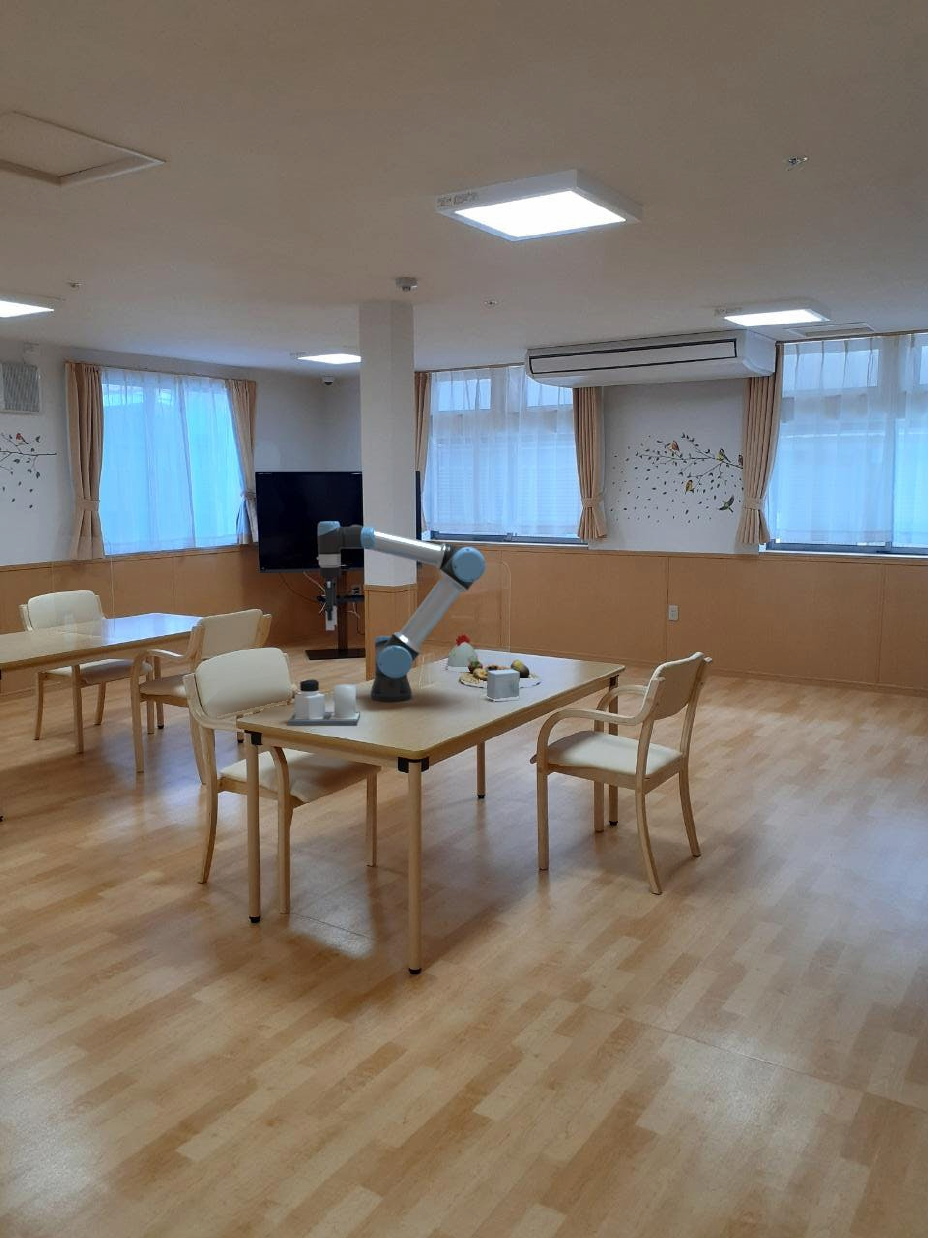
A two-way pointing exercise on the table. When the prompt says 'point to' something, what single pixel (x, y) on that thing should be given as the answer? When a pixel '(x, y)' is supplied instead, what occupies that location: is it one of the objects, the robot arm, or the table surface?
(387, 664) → the robot arm
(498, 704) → the table surface
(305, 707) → the medicine bottle
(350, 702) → the plastic jar
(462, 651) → the white dome figure
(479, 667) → the wooden plate with food
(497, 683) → the skincare box
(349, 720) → the dock board
